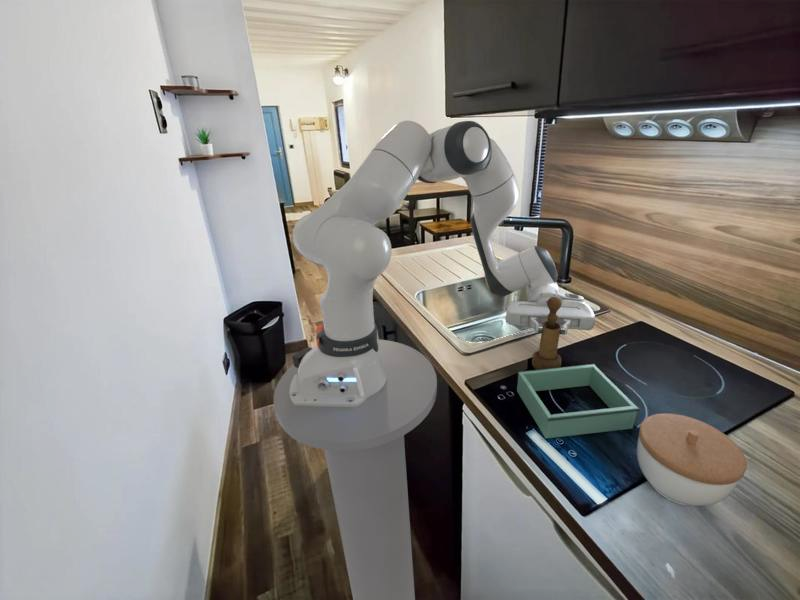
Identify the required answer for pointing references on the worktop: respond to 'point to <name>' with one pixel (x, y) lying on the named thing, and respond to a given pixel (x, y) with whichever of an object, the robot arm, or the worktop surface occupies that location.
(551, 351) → the mortar and pestle
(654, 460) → the lidded bowl
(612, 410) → the green square frame
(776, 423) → the worktop surface
